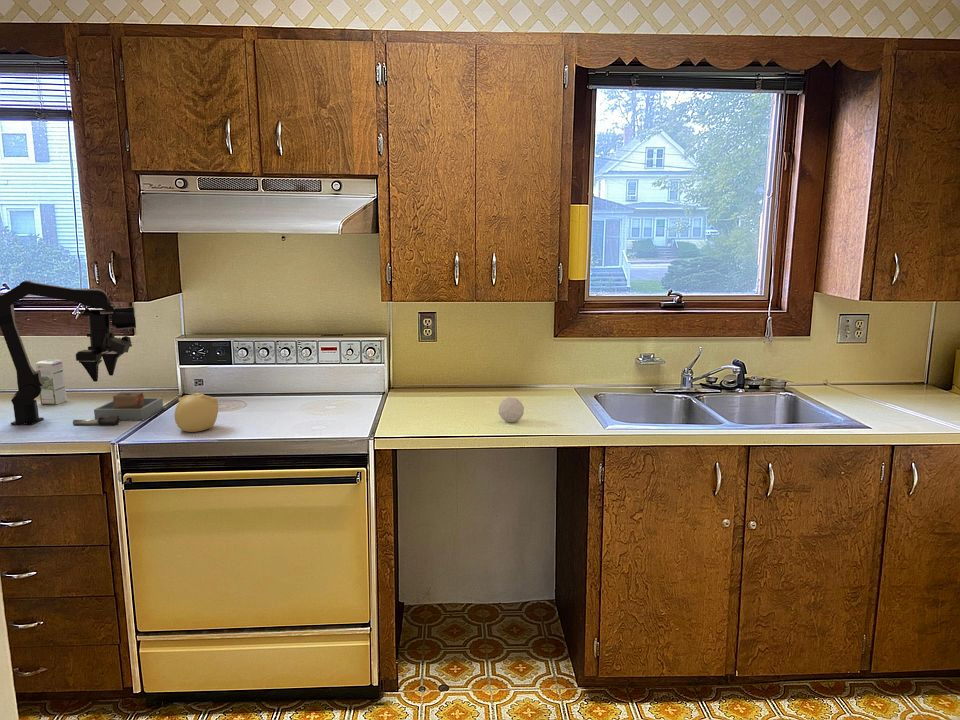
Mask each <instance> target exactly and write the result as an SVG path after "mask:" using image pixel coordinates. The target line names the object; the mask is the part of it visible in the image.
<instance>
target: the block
mask: <svg viewBox="0 0 960 720" xmlns="http://www.w3.org/2000/svg"><path fill="white" fill-rule="evenodd" d="M144 398H145V394H144V392H140V391H139V392H119V393H117V394H114V395H113V396H112V399H113V401H114V409H141V408H142V407H144Z"/></svg>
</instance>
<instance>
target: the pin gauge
mask: <svg viewBox="0 0 960 720" xmlns="http://www.w3.org/2000/svg"><path fill="white" fill-rule="evenodd" d="M119 424H120V420H119V417H118V416H100V417H99V419H98V420H95V419H73V420H72V425H73V426H118V425H119Z"/></svg>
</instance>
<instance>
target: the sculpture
mask: <svg viewBox="0 0 960 720" xmlns="http://www.w3.org/2000/svg"><path fill="white" fill-rule="evenodd" d="M218 414H219V400H218V398H217V397H213V396H210V395H205V394H204V393H202V392H195V393H193V394H186V395H185V394H184V396H182V397H180V398H178V403H177V405H176V407H175V410H174V420H175V424H176V426H177V427H178V428H179V429H180V430H181V431H184V432H187V433H189V432H190V433H194V432H195V433H196V432H201V431H205V430H208V429H211V428H213V427H214V425H215V423H216V421H217V418H218Z"/></svg>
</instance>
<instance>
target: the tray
mask: <svg viewBox="0 0 960 720" xmlns="http://www.w3.org/2000/svg"><path fill="white" fill-rule="evenodd" d="M163 409H164V402H163V397H144V407H142V408H141V409H114V401H113V400H110V401H109V402H107V403H104V404H103V405H101V406H98V407H96V408H94V409H93V414H94V420H98V419H99V417H100V416H118V417H119V421H144V420H146V419H148V418H149V417H151V416H152V415H155V414H156V413H158V412H159V411H161V410H163ZM145 418H146V419H145ZM143 419H144V420H143Z"/></svg>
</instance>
